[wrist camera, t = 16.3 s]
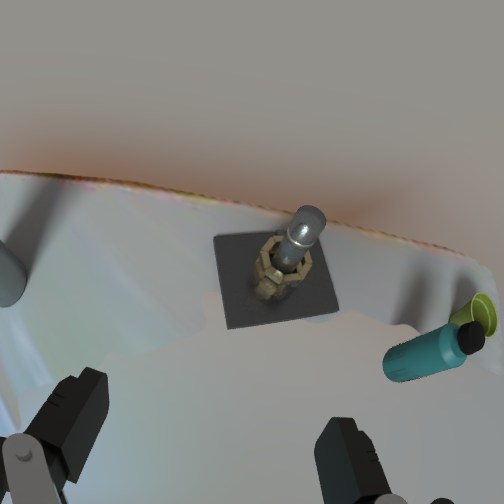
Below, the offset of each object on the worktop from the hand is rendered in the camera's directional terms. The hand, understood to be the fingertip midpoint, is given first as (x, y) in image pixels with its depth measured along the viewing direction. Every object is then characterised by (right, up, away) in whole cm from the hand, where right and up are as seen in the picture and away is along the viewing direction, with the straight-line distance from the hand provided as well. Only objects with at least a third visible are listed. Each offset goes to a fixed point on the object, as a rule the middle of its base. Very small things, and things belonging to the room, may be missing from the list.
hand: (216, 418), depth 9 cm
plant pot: (+44, -10, +41) cm, 61 cm away
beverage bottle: (+25, -14, +36) cm, 46 cm away
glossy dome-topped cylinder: (+5, +2, +38) cm, 39 cm away
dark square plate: (+5, +2, +40) cm, 40 cm away
